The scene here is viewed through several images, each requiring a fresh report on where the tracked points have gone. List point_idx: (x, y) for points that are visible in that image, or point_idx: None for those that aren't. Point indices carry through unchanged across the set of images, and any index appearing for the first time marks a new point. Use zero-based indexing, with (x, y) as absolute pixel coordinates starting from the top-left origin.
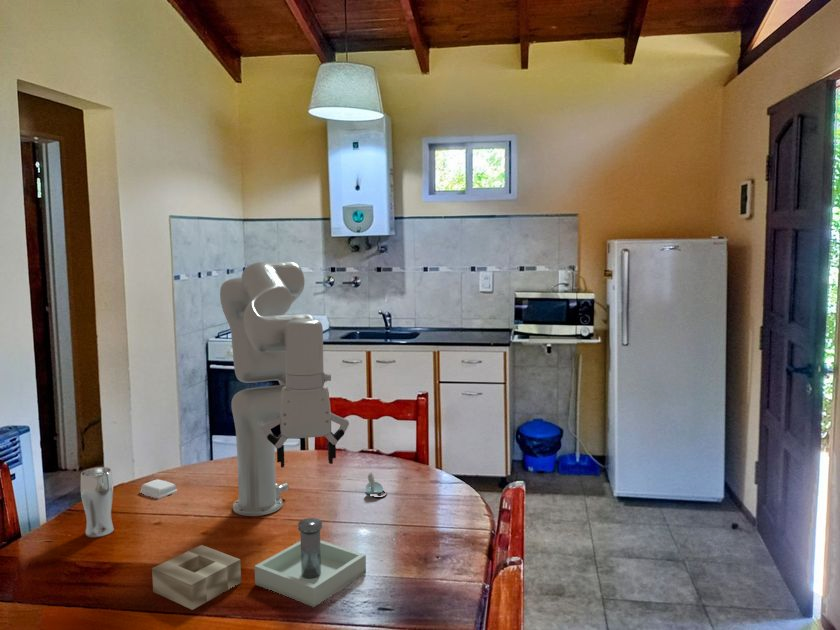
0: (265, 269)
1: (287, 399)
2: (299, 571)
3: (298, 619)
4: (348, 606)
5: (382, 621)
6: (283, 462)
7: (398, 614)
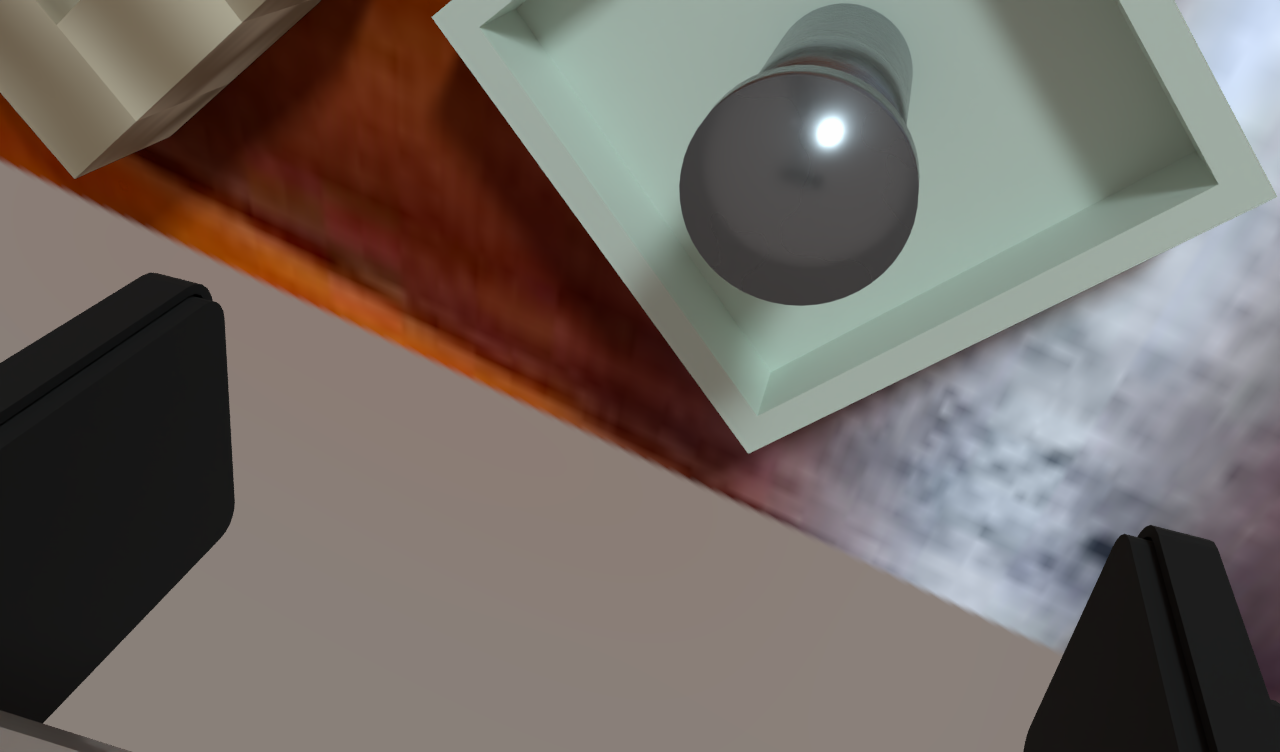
0: None
1: None
2: (772, 1)
3: (668, 446)
4: (946, 457)
5: (1051, 640)
6: (172, 569)
7: None
